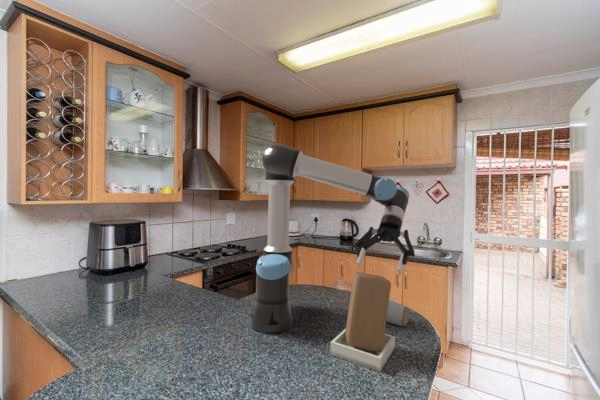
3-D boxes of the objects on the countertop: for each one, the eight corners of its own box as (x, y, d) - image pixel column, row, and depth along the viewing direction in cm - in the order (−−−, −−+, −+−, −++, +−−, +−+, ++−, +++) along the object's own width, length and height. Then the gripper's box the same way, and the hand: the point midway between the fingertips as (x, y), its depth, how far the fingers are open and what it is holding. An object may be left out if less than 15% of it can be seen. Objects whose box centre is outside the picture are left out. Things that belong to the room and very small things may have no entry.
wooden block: (376, 341, 90) (385, 276, 92) (382, 354, 80) (392, 281, 82) (344, 334, 91) (353, 271, 93) (346, 346, 81) (357, 274, 83)
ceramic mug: (403, 330, 100) (404, 308, 100) (380, 323, 105) (381, 302, 105) (411, 320, 108) (412, 300, 108) (390, 315, 113) (391, 295, 113)
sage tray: (330, 354, 83) (330, 342, 83) (349, 334, 96) (350, 324, 96) (380, 371, 75) (380, 358, 75) (394, 348, 88) (394, 336, 88)
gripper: (429, 229, 103) (419, 281, 91) (362, 224, 116) (346, 268, 104) (427, 215, 98) (416, 268, 86) (357, 211, 112) (340, 256, 100)
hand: (377, 268), depth 95 cm, fingers open, 13 cm apart
